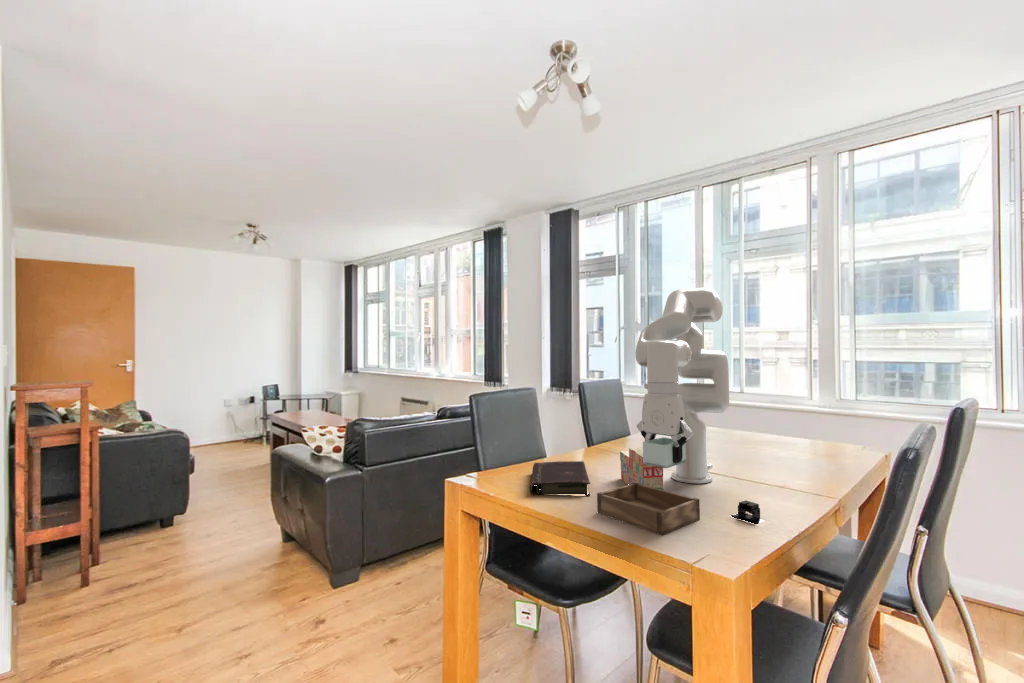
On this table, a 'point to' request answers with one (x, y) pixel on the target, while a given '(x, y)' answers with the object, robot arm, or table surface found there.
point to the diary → (560, 477)
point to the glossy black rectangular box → (752, 509)
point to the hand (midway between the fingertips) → (664, 459)
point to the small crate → (661, 452)
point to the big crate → (649, 507)
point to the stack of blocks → (639, 469)
